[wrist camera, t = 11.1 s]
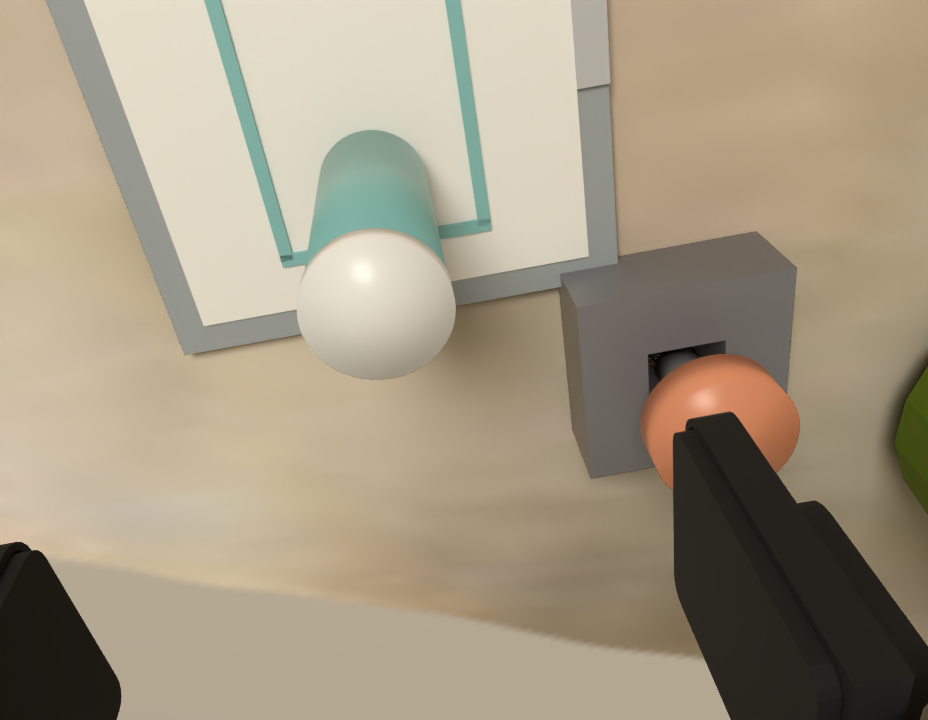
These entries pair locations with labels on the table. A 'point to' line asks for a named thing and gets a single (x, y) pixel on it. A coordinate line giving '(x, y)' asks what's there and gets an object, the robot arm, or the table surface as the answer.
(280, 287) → the white flat board
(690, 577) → the robot arm
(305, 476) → the table surface
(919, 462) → the apple
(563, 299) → the button housing
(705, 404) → the button
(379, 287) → the marker
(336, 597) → the table surface
